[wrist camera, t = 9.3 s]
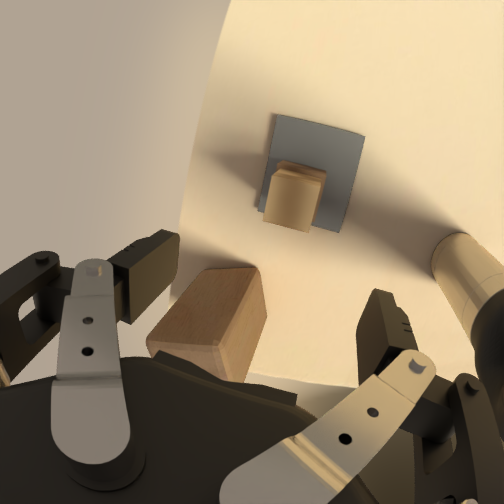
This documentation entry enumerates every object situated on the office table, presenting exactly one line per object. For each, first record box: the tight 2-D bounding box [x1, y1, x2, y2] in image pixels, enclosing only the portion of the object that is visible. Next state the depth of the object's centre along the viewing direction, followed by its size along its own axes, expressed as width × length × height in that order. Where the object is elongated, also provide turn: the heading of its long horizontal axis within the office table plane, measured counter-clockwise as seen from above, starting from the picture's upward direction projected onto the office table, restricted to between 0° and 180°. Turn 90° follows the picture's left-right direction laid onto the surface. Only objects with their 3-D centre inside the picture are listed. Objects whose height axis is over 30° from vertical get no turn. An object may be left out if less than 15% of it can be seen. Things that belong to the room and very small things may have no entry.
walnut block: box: [276, 160, 326, 222], centre depth 39 cm, size 6×6×5 cm
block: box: [146, 267, 267, 383], centre depth 42 cm, size 10×10×20 cm
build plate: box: [258, 114, 365, 233], centre depth 40 cm, size 12×14×1 cm
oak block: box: [263, 168, 321, 233], centre depth 34 cm, size 5×5×6 cm
